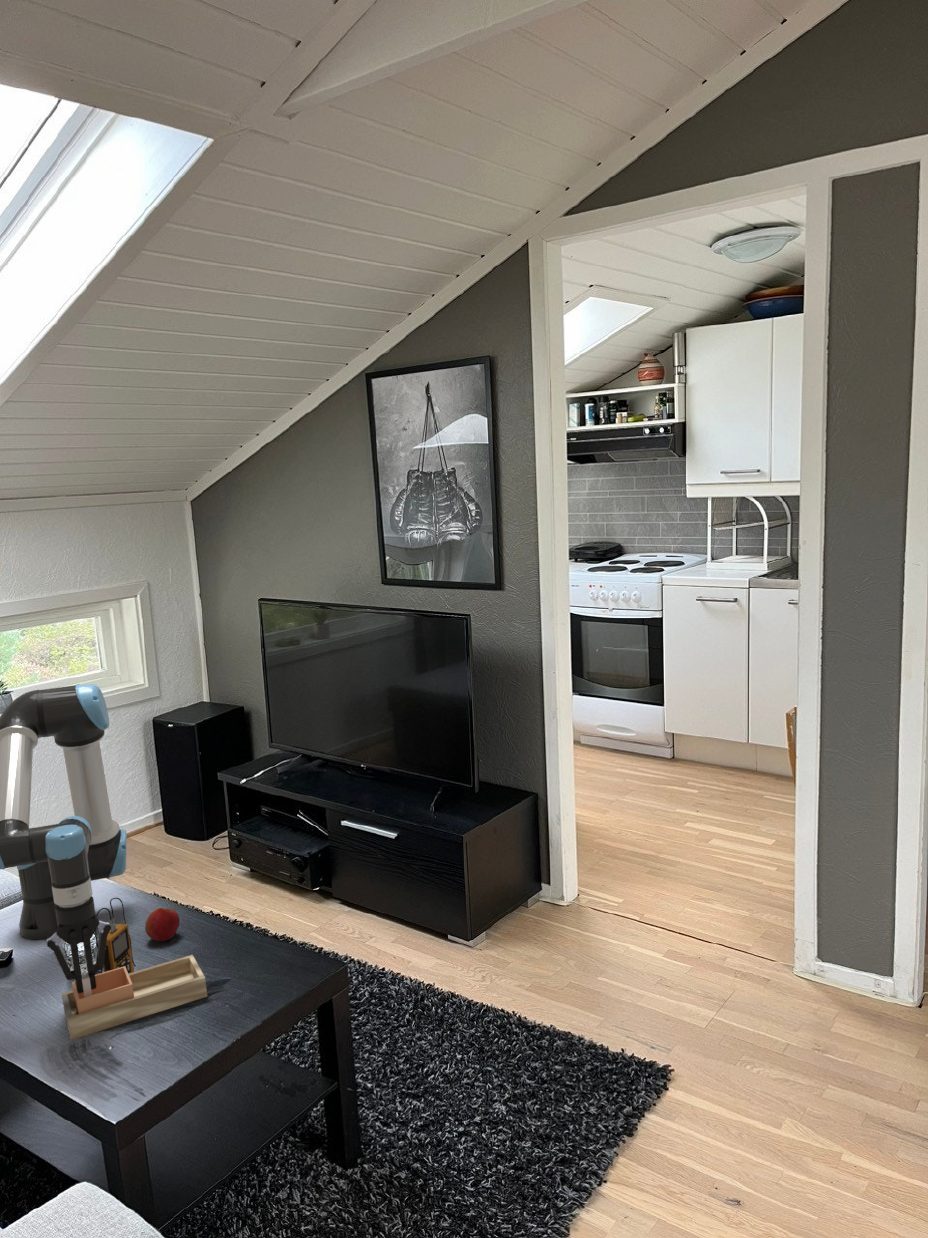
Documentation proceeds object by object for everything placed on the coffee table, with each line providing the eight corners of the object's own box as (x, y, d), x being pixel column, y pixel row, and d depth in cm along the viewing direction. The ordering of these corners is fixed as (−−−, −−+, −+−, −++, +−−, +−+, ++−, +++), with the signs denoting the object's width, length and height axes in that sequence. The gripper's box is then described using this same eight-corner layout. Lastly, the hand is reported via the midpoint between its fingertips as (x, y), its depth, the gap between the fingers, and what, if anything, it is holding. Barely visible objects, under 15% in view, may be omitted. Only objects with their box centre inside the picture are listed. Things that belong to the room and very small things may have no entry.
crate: (75, 1007, 206) (71, 981, 205) (128, 991, 211) (125, 966, 210) (81, 1027, 198) (77, 1001, 197) (135, 1010, 204) (132, 984, 203)
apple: (179, 944, 234) (175, 913, 233) (144, 949, 233) (140, 918, 231) (183, 929, 241) (179, 900, 240) (150, 934, 240) (146, 904, 239)
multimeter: (137, 1005, 209) (126, 919, 205) (96, 1002, 211) (84, 917, 208) (171, 969, 223) (161, 889, 220) (133, 967, 225) (122, 887, 222)
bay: (64, 1012, 207) (61, 993, 206) (194, 972, 220) (192, 954, 219) (71, 1040, 196) (68, 1020, 196) (207, 996, 209) (205, 977, 208)
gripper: (41, 916, 193) (58, 1023, 197) (109, 898, 199) (123, 1002, 203) (38, 902, 200) (54, 1006, 203) (103, 885, 206) (118, 986, 209)
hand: (89, 1004), depth 203 cm, fingers closed
